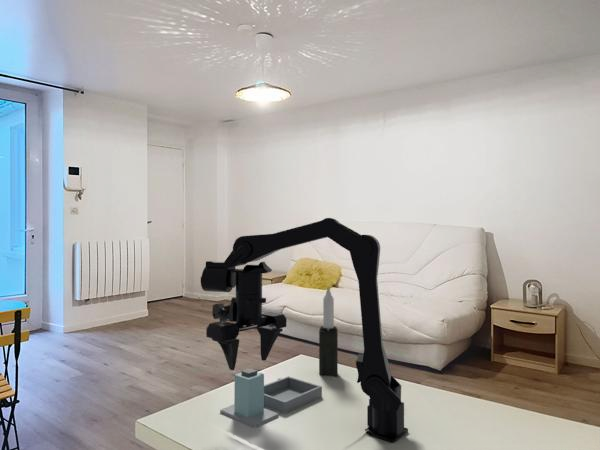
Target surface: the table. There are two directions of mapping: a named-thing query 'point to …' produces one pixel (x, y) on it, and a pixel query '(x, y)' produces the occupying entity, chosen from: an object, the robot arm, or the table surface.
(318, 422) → the table surface
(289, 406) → the case
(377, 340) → the robot arm
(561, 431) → the table surface
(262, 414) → the lid panel
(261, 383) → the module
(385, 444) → the table surface
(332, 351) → the black grey pointed bar
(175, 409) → the table surface
